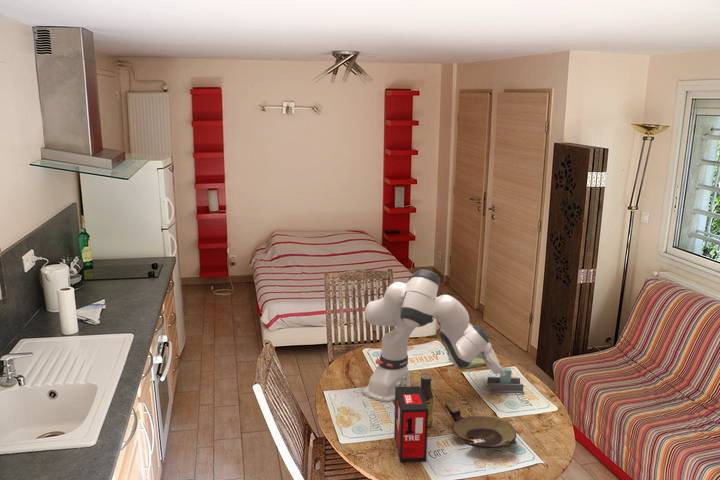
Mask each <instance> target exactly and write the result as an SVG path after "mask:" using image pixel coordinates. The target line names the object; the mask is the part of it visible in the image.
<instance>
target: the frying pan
mask: <svg viewBox="0 0 720 480" xmlns="http://www.w3.org/2000/svg"><path fill="white" fill-rule="evenodd" d="M444 406H445V408H446V410H447V411H448V412H449V414H450V416H451V418H452V420H453V421H454V423H453V425H452V434H453V435H454V436H455V437H456V438H457V439H460V440H462V441H465V442H464V445H468V446H470V447H473V448H478V449H485V450H486V449H487V450H489V449H490V450H491V449H492V450H493V449H502V448H510V447H511V445H514V444H516V443H517V441H516V438H517V431H516V428H515V427H514V426H513V425H511V423H509V421H504V420H503V419H500V418H496V417H492V416H486V415H484V416H483V415H481V416H480V415H472V416H471V415H470V416H465V417H464V416H463V417H462V416H461V411H462V410H461V409H457V408H454V407H453V406H452V405H451V404H450V403H449V402H445V404H444ZM474 438H477V439H480V438H481V440H483V439H484V440H483V441H481V442H475V440H474Z"/></svg>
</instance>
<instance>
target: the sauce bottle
mask: <svg viewBox="0 0 720 480" xmlns="http://www.w3.org/2000/svg"><path fill="white" fill-rule="evenodd" d="M431 382H432V376H431V375H429V374H422V375H421V376H420V389H421V391H422V394H423V397H424V399H425V402H426V405H427V407H428V427H427V429H429V428H431V427H432V422H433V412H434V393H433V391H432V387H431Z"/></svg>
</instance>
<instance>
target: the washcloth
mask: <svg viewBox="0 0 720 480" xmlns="http://www.w3.org/2000/svg"><path fill="white" fill-rule="evenodd" d="M448 359H449V358H448ZM449 361H450V359H449ZM485 366H487V365H486V364H485V362H484V360H483V359H481V358H479V359H477V358H476V357H475V358H474V359H473V360H472V362H471V363H470V364H469V366H468V367H467V368H458V369H459V370H467V369H474V368H479V367H485Z"/></svg>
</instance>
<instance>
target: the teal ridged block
mask: <svg viewBox="0 0 720 480" xmlns="http://www.w3.org/2000/svg"><path fill="white" fill-rule="evenodd" d="M501 368H502V370H504V371H505V373H506V375H505V376H502V375H501V374H499V375H500V376H499V377H500V383H502V384H511V377H512V372H513V371H512V369H511V367H501Z"/></svg>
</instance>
